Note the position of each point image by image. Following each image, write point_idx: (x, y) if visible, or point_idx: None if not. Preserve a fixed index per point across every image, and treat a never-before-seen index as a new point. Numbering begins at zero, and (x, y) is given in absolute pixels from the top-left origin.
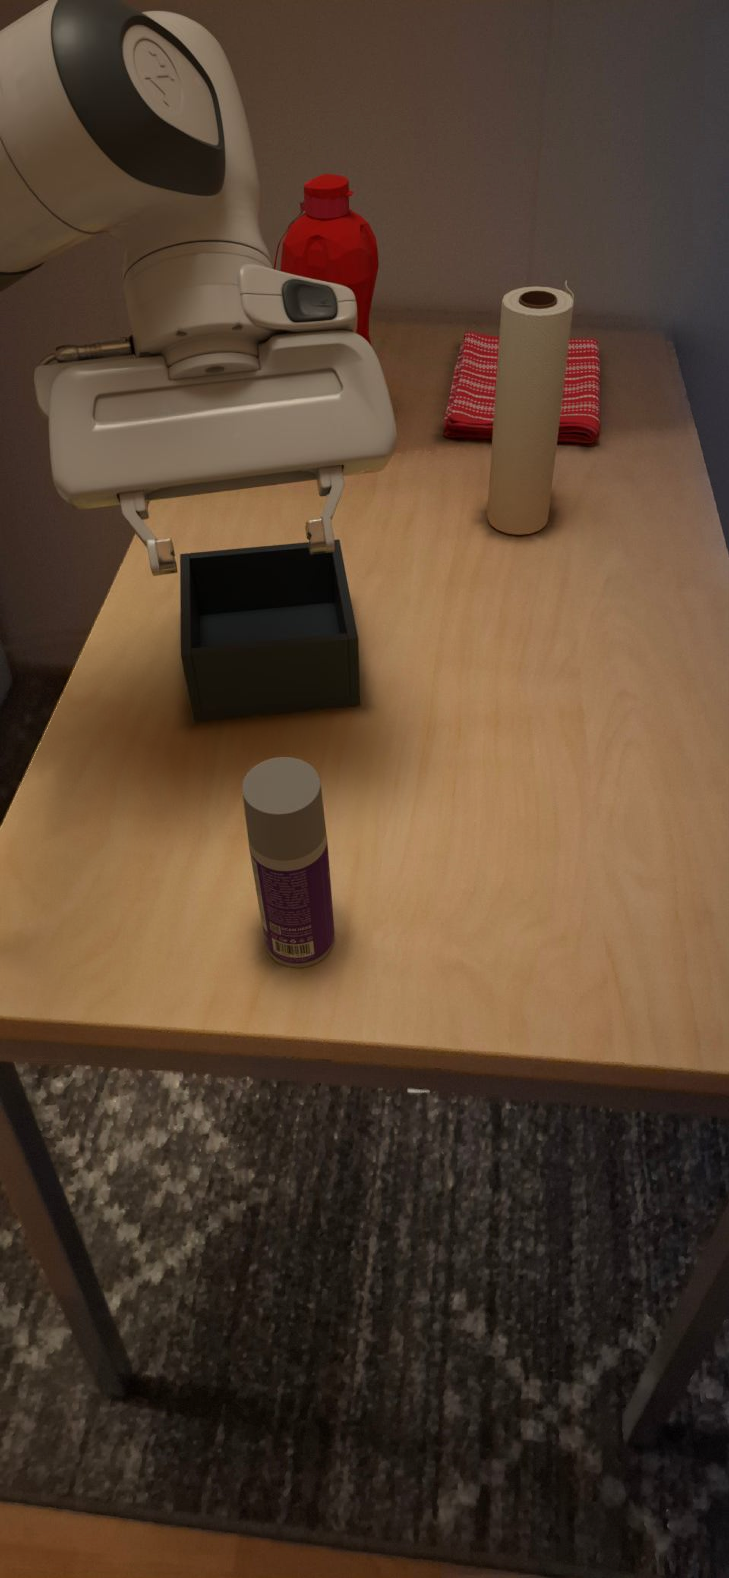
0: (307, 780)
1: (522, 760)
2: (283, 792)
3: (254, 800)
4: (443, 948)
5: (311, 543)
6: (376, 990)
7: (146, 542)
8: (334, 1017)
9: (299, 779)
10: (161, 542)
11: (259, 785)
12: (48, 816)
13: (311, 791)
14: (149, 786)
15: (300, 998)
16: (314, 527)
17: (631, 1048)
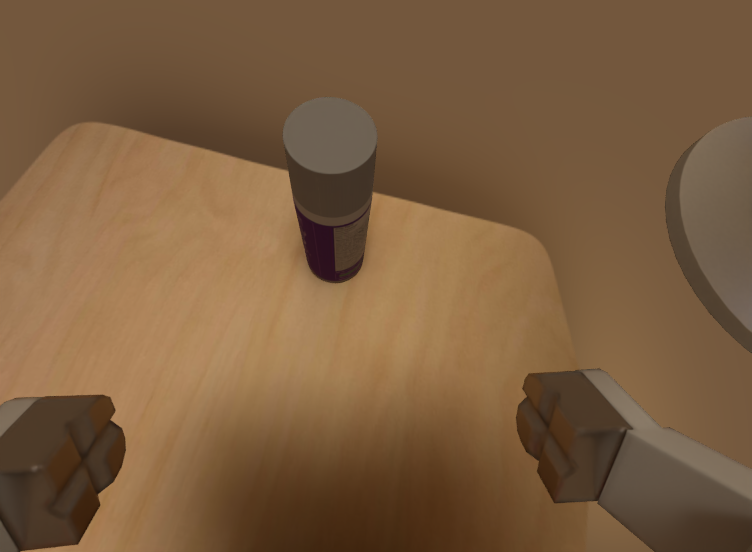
0: (298, 132)
1: None
2: (329, 123)
3: (364, 119)
4: (224, 229)
5: (90, 400)
6: (285, 205)
7: (658, 425)
8: None
9: (307, 136)
10: (606, 423)
11: (356, 138)
12: None
13: (296, 119)
14: (468, 464)
15: None
16: (32, 445)
17: (123, 135)
